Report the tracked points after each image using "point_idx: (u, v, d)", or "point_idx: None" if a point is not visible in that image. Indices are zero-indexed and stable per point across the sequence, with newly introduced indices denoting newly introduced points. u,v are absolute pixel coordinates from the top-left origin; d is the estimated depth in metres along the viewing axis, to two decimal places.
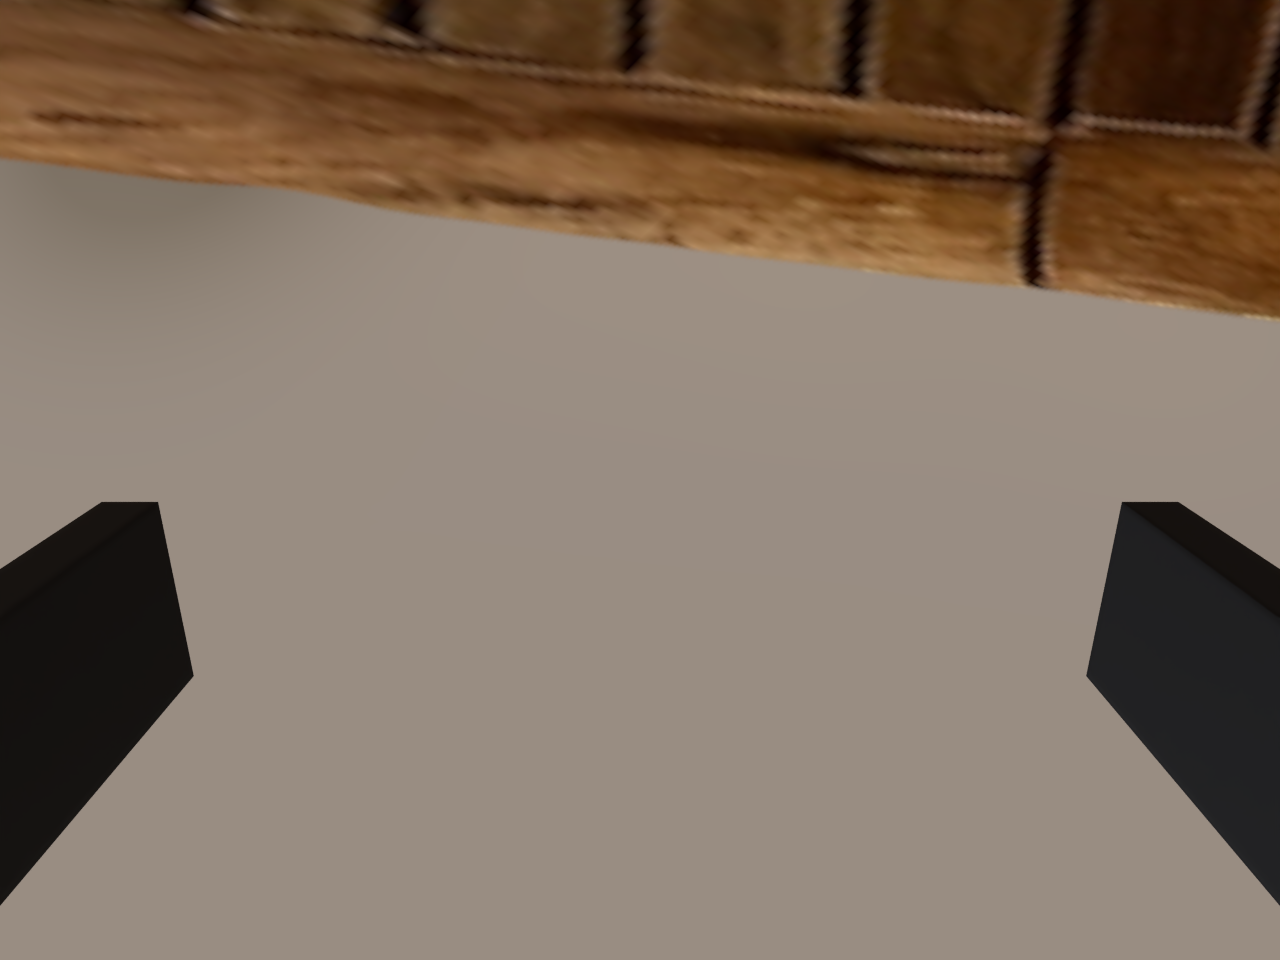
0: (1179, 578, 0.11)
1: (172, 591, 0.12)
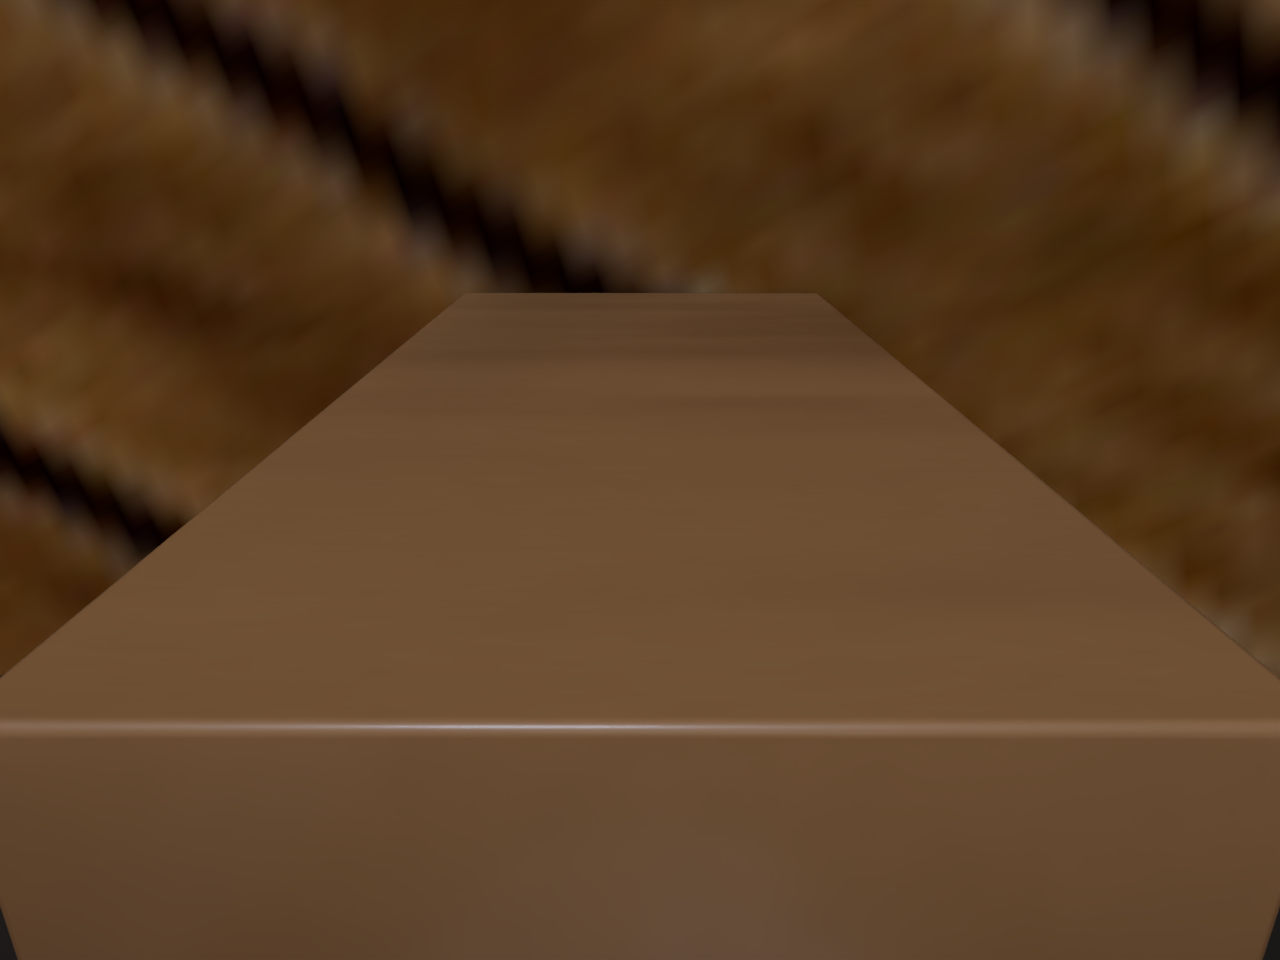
0: None
1: None
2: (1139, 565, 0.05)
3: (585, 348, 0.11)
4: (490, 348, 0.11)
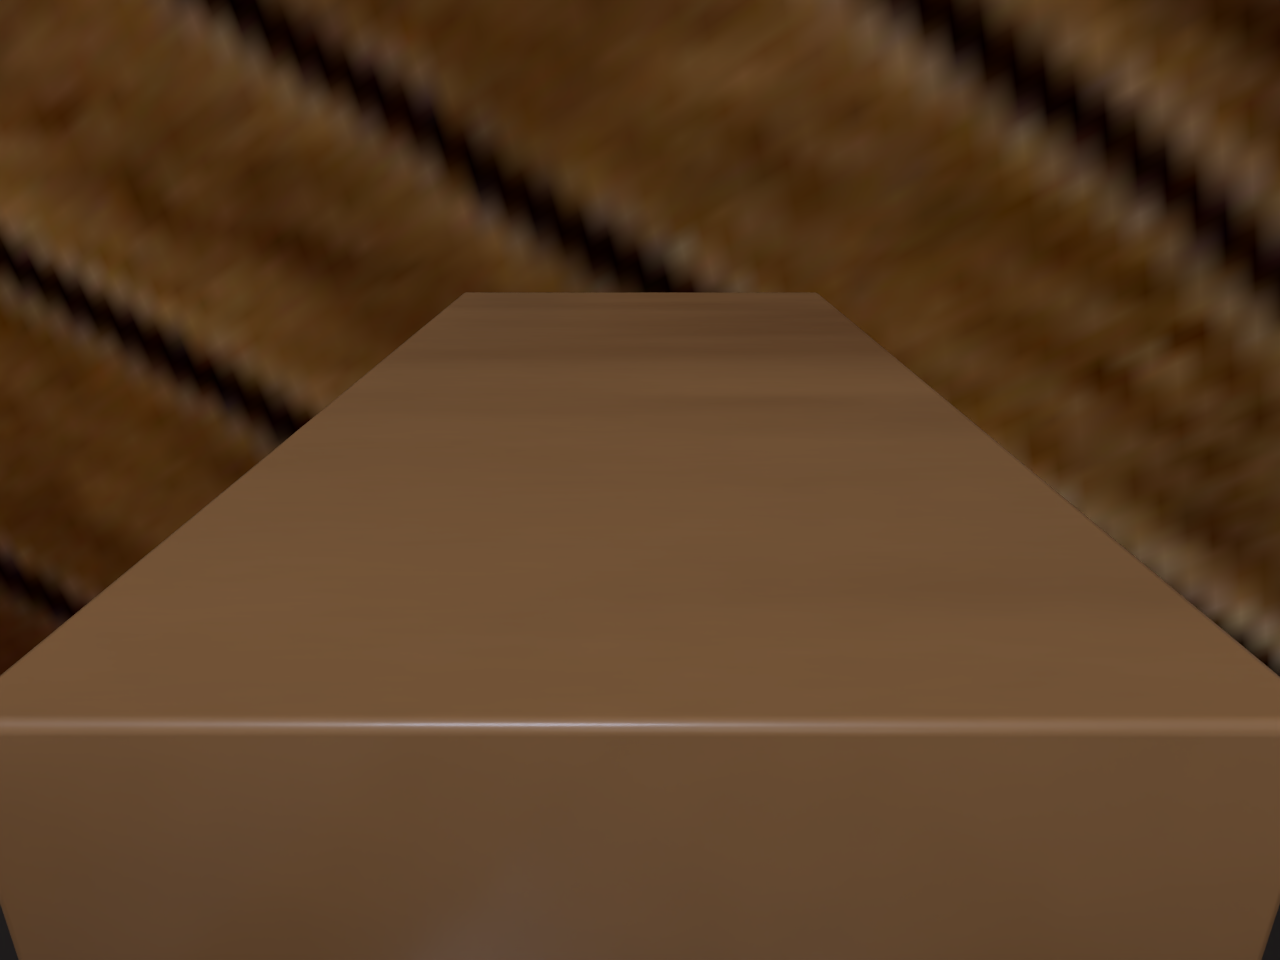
0: None
1: None
2: (1139, 563, 0.05)
3: (585, 347, 0.11)
4: (490, 347, 0.11)
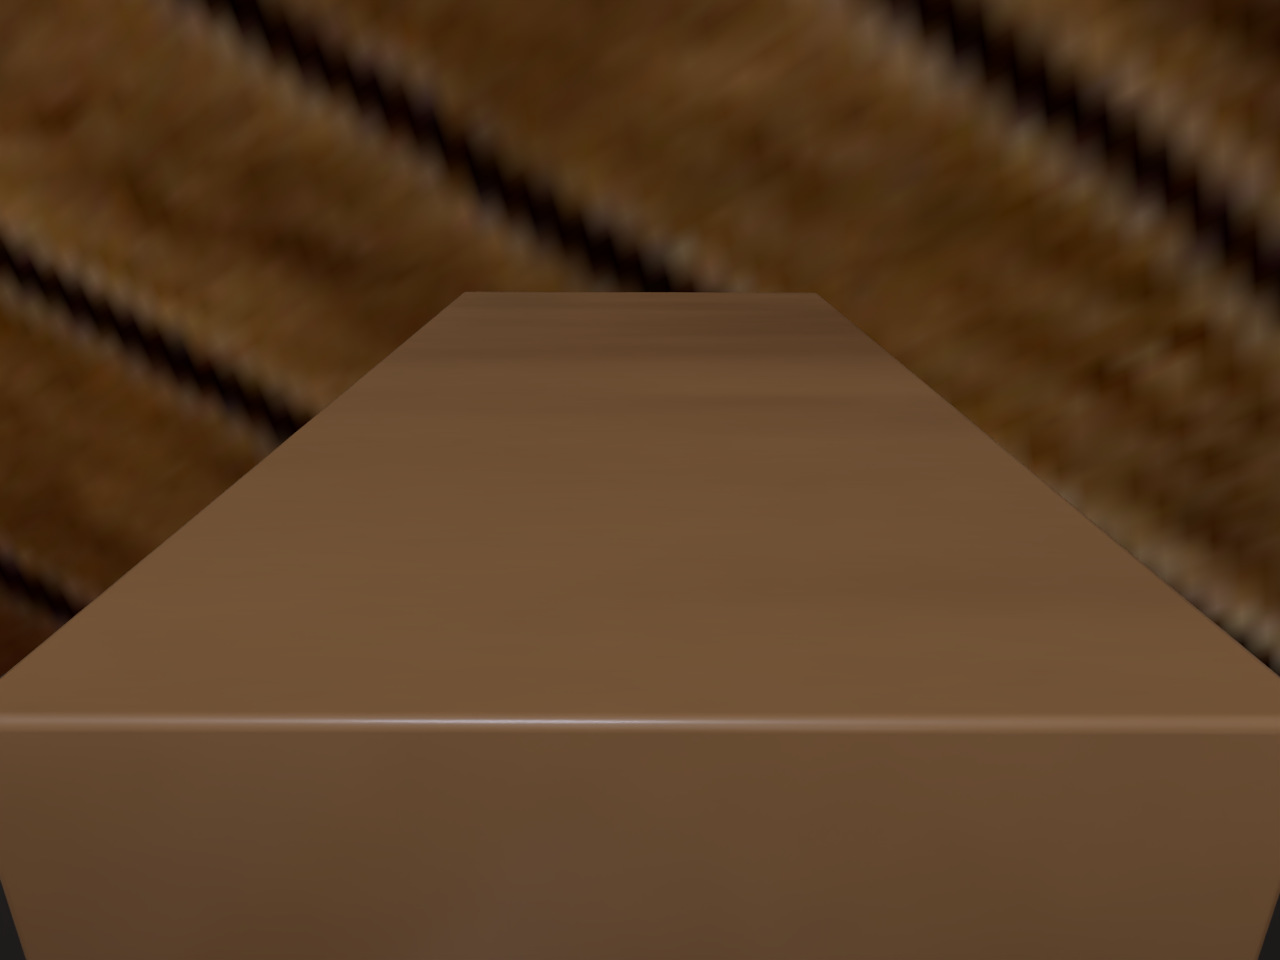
0: None
1: None
2: (1138, 563, 0.05)
3: (586, 347, 0.11)
4: (491, 346, 0.11)
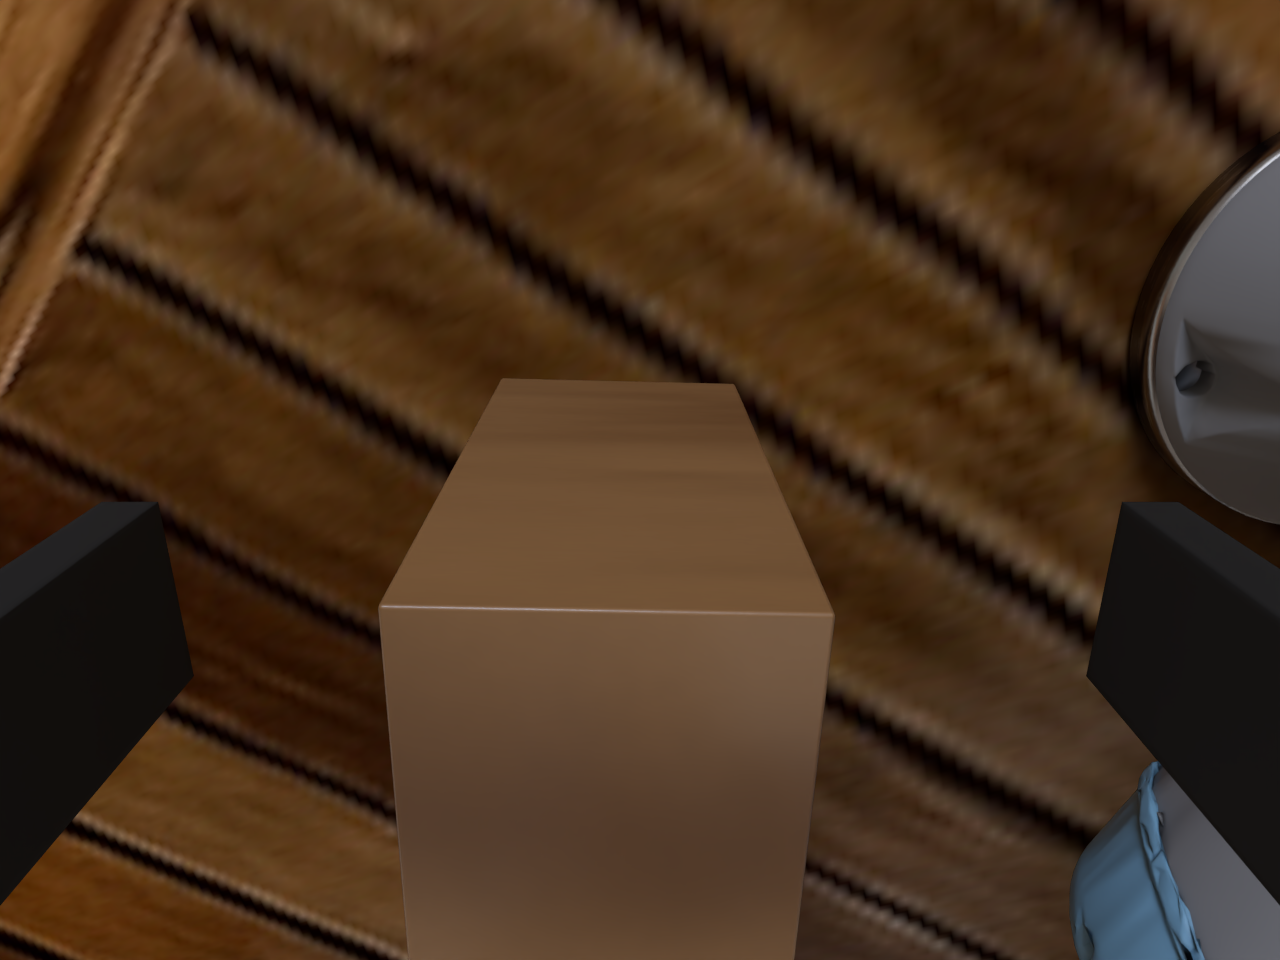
0: (1179, 578, 0.11)
1: (172, 591, 0.12)
2: (808, 562, 0.14)
3: (584, 432, 0.19)
4: (528, 431, 0.19)
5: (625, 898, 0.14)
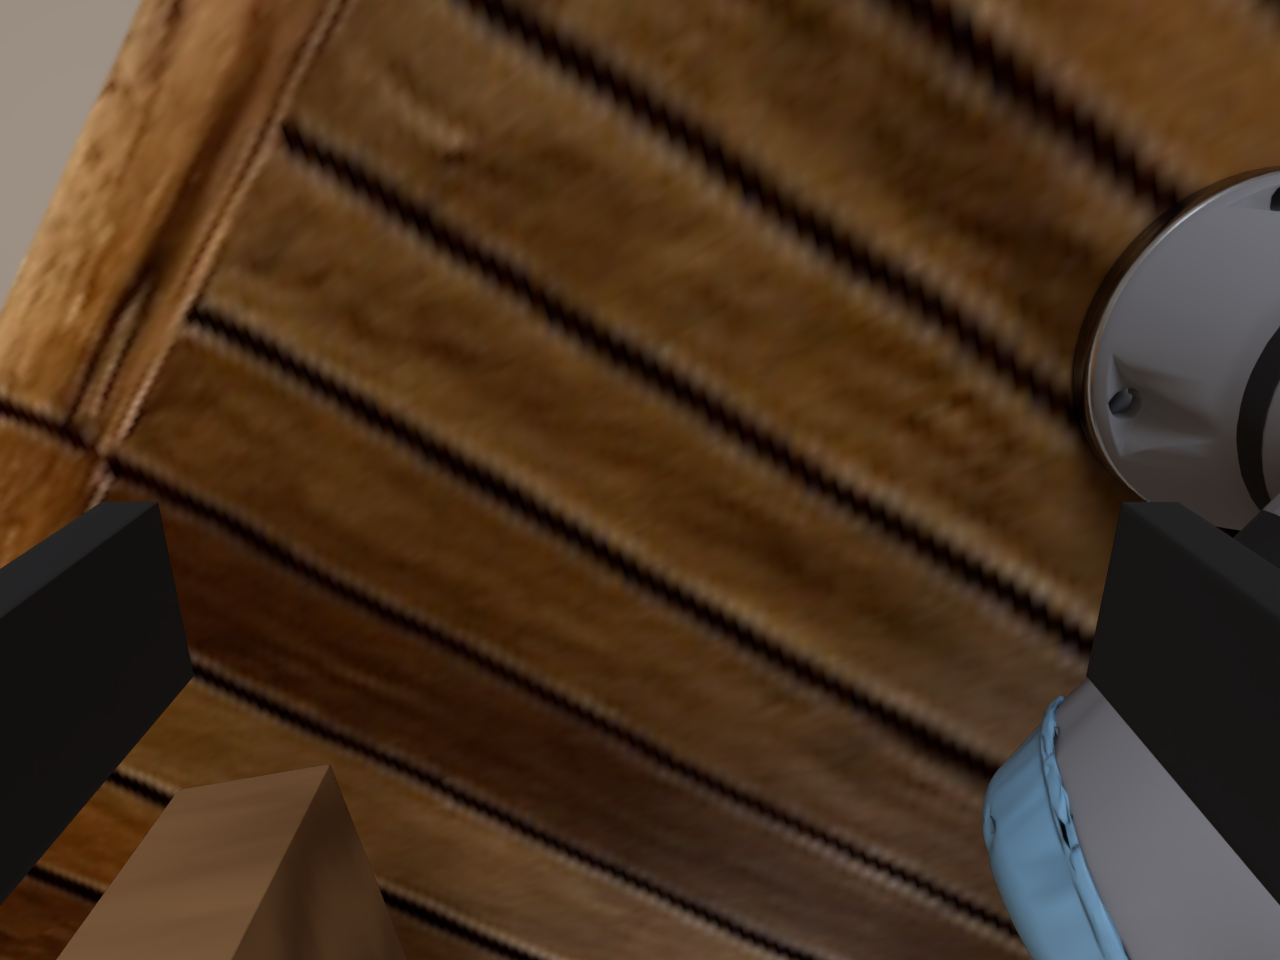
0: (1179, 578, 0.11)
1: (173, 591, 0.12)
2: None
3: (179, 868, 0.30)
4: (146, 873, 0.30)
5: None
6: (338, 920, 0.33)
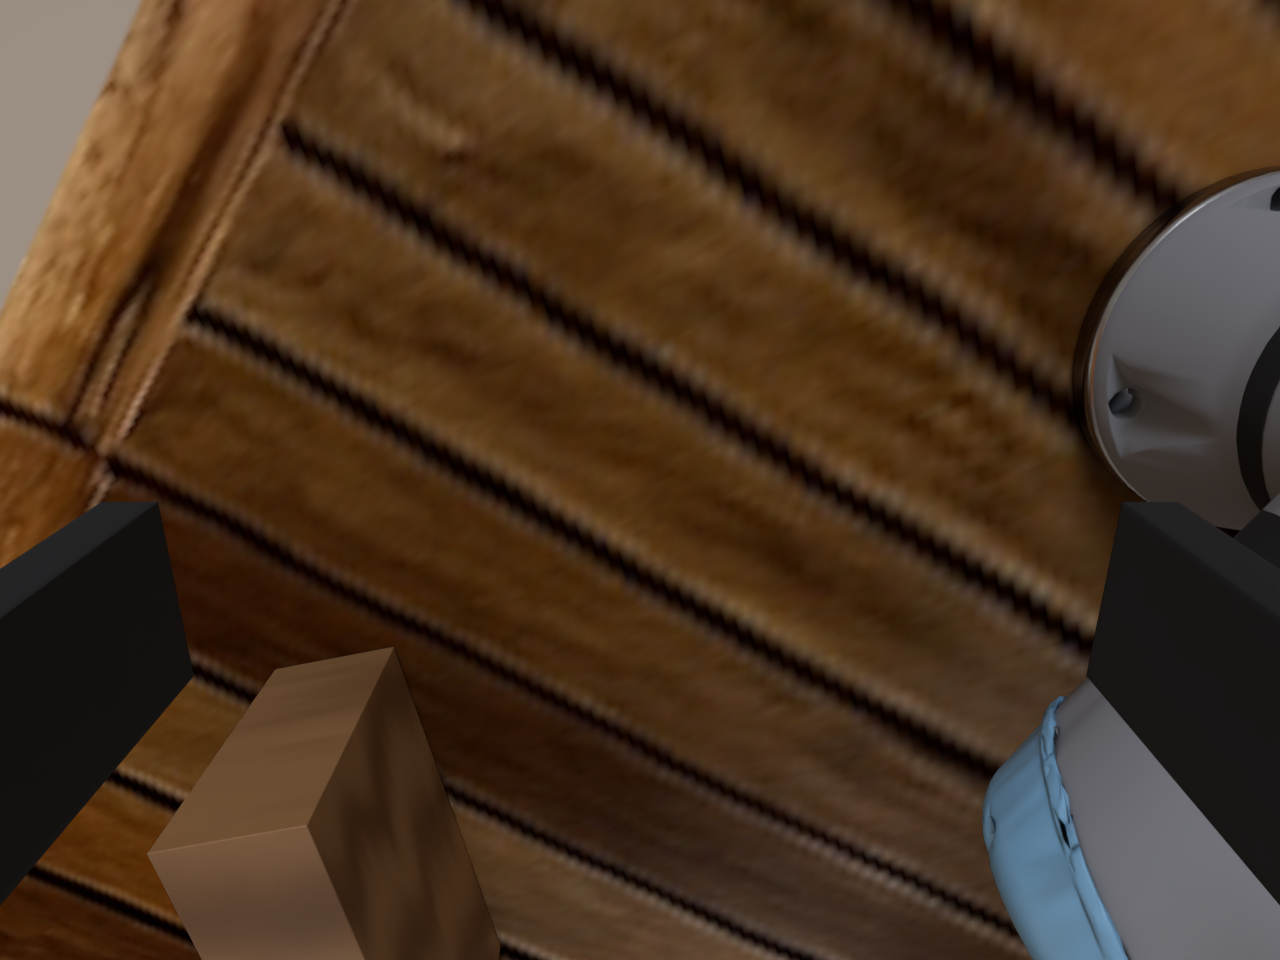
0: (1179, 578, 0.11)
1: (173, 591, 0.12)
2: (318, 795, 0.34)
3: (287, 715, 0.40)
4: (261, 719, 0.40)
5: (282, 940, 0.34)
6: (403, 762, 0.42)
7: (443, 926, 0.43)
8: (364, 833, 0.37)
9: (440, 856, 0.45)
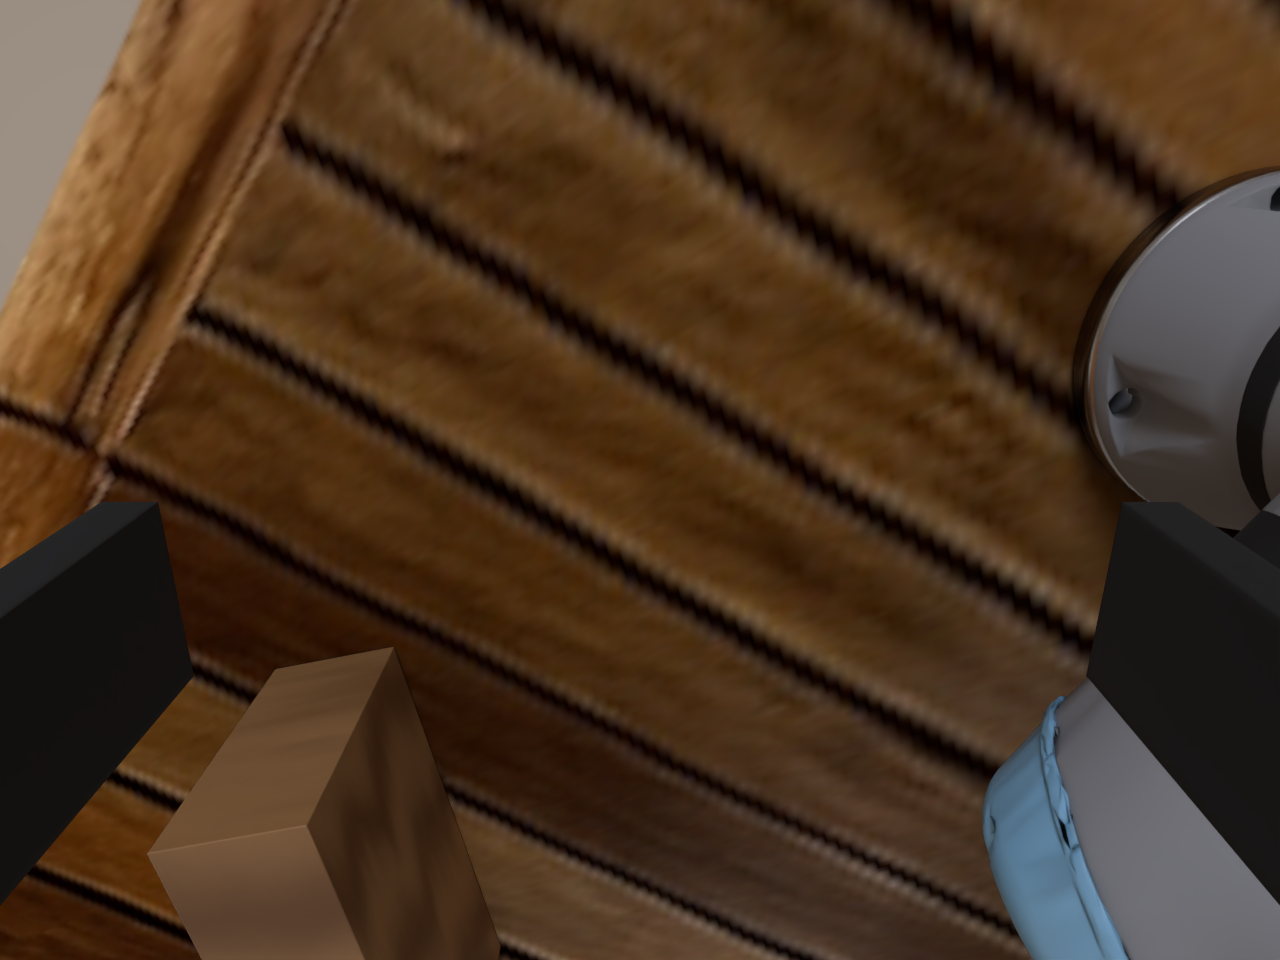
0: (1179, 578, 0.11)
1: (173, 591, 0.12)
2: (318, 795, 0.34)
3: (287, 715, 0.40)
4: (261, 719, 0.40)
5: (282, 940, 0.34)
6: (403, 762, 0.42)
7: (443, 926, 0.43)
8: (364, 833, 0.37)
9: (440, 856, 0.45)
